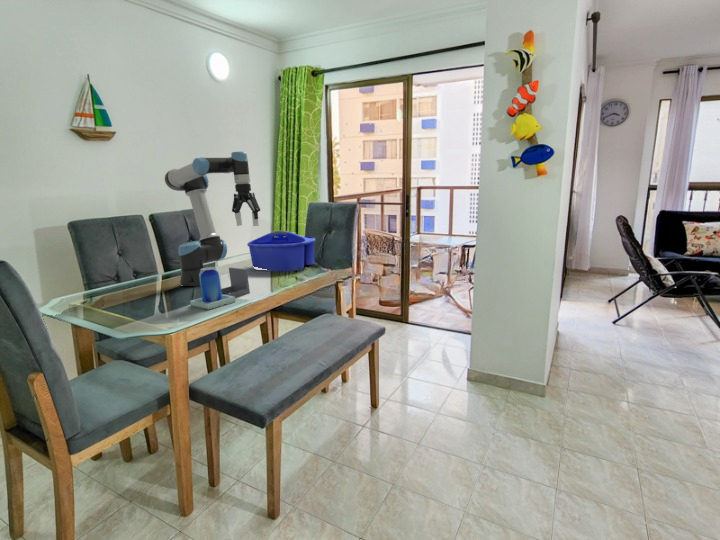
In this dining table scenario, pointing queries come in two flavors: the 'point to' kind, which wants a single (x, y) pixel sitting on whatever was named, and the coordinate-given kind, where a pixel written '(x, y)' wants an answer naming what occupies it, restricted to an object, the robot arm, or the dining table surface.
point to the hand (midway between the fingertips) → (247, 225)
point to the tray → (202, 305)
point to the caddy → (282, 251)
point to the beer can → (210, 285)
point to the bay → (237, 282)
